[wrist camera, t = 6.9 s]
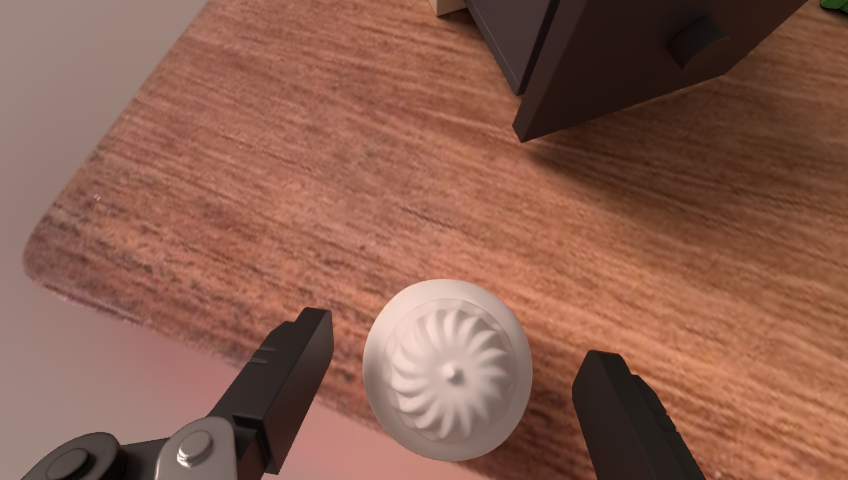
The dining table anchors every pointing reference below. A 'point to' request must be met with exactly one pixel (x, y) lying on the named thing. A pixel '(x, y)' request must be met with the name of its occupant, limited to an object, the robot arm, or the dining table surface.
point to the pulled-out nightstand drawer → (615, 50)
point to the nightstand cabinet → (446, 6)
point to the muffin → (447, 370)
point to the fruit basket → (836, 4)
